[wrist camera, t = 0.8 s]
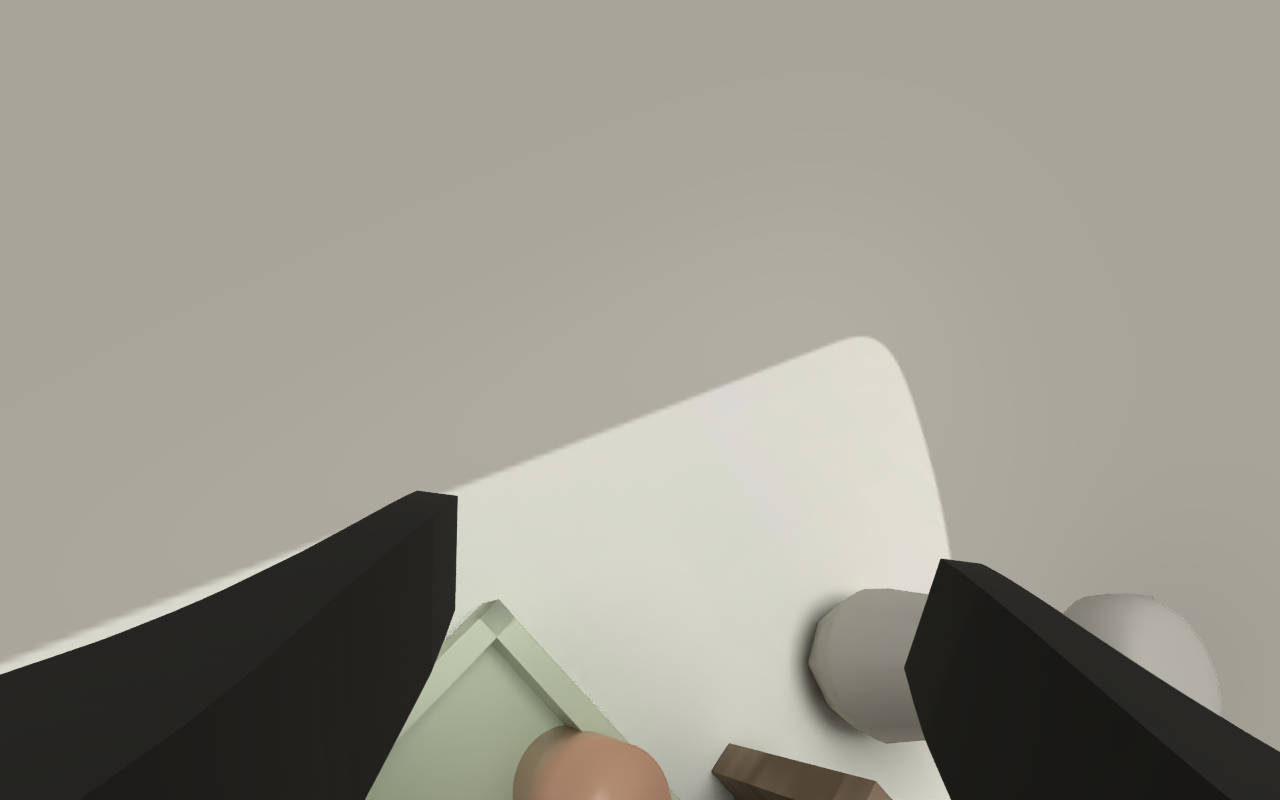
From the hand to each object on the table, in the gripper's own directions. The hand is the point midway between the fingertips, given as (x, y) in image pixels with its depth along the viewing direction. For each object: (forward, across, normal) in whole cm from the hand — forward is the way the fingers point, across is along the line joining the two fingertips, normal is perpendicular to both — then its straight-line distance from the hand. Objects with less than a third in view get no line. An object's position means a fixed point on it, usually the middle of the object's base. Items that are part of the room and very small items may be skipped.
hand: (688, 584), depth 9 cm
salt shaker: (+15, -9, +14) cm, 22 cm away
